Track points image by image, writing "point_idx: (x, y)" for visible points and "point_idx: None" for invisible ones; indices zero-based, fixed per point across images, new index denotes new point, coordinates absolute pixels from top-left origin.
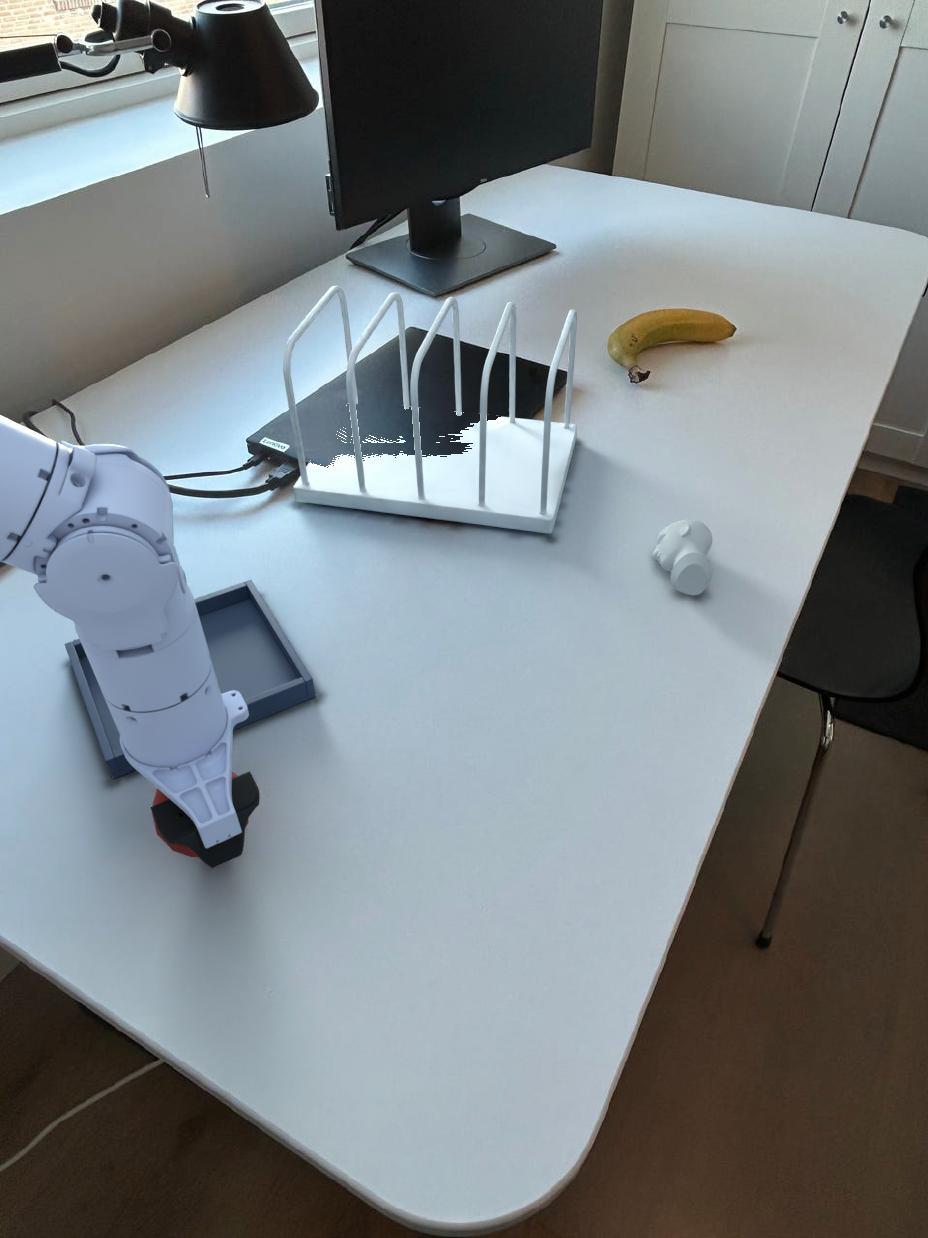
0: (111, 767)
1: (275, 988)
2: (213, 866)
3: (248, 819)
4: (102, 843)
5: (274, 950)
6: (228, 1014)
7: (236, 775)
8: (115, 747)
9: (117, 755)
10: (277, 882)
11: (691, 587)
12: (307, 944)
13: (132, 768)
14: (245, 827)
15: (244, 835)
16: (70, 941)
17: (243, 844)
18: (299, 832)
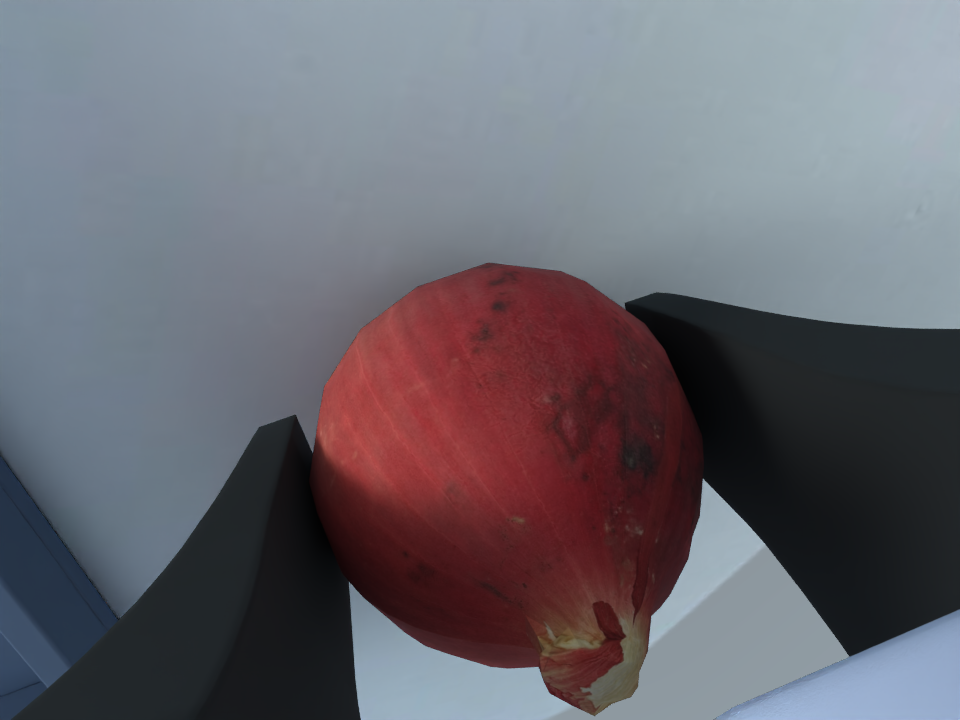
0: None
1: (918, 198)
2: None
3: (550, 270)
4: (375, 624)
5: (834, 193)
6: (910, 308)
7: (459, 349)
8: (4, 685)
9: None
10: (653, 165)
11: None
12: (864, 97)
13: (107, 617)
14: (805, 318)
15: (734, 306)
16: None
17: (690, 297)
18: (495, 61)
